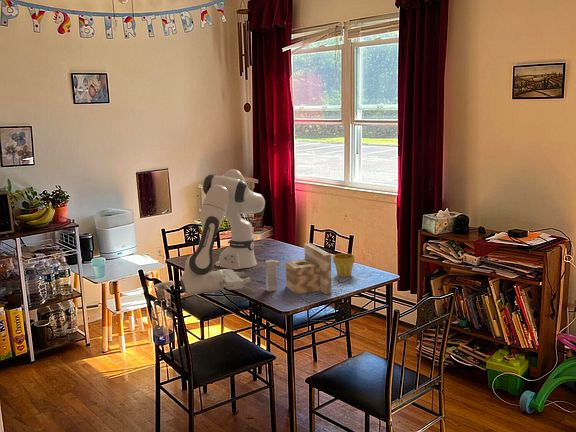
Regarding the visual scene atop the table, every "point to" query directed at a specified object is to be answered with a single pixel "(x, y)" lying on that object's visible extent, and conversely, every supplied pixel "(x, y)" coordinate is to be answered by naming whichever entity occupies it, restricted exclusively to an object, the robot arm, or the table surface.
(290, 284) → the tan blocky piece
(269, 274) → the grey brown tall block
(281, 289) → the table surface
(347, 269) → the plant pot
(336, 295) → the table surface
